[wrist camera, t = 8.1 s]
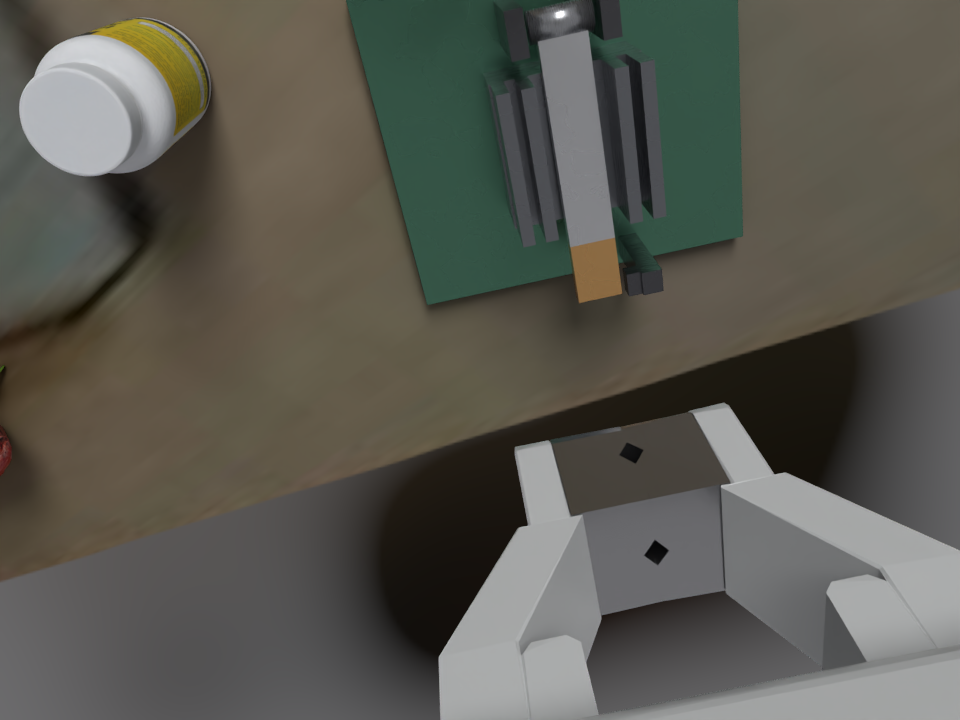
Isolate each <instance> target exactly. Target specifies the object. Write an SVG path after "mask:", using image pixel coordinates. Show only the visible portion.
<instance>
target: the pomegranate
mask: <svg viewBox="0 0 960 720" xmlns="http://www.w3.org/2000/svg"><path fill="white" fill-rule="evenodd" d="M3 368H4V365H3V366H2V367H0V372H1V371H2V369H3ZM11 457H12V447H11V445H10V442H9V439H8V438H7V436H6V433H5V431H4V429H3V427H2V426H1V425H0V476H1V475H2V474H3V473H4V470H5V469H6V468H7V466H8V465H9V463H10V461H11Z"/></svg>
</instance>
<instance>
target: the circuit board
mask: <svg viewBox="0 0 960 720" xmlns="http://www.w3.org/2000/svg"><path fill="white" fill-rule="evenodd" d="M566 1H570V0H346V2H347V6H348V10H349V13H350V17H351V21H352V25H353V28H354V32H355V36H356V39H357V43H358V47H359V51H360V54H361V58H362V62H363V66H364V69H365V73H366V77H367V81H368V84H369V88H370V92H371V96H372V99H373V103H374V107H375V111H376V114H377V118H378V122H379V126H380V129H381V133H382V137H383V141H384V144H385V148H386V152H387V156H388V159H389V163H390V167H391V171H392V174H393V178H394V182H395V186H396V189H397V193H398V197H399V201H400V204H401V208H402V212H403V216H404V219H405V223H406V227H407V231H408V234H409V238H410V242H411V246H412V249H413V253H414V257H415V261H416V264H417V268H418V272H419V276H420V279H421V283H422V287H423V291H424V294H425V298H426V302H427V305H430V304H434V303H439V302H443V301H448V300H453V299H457V298H462V297H466V296H471V295H476V294H480V293H485V292H489V291H494V290H499V289H503V288H508V287H512V286H517V285H522V284H526V283H531V282H535V281H540V280H545V279H549V278H554V277H558V276H563V275H567V274H572V266H571V260H570V254H569V247H568V241H567V235H566V229H565V222H564V216H563V210H562V204H561V197H560V191H559V185H558V179H557V172H556V166H555V160H554V154H553V147H552V141H551V135H550V129H549V122H548V116H547V110H546V104H545V97H544V91H543V85H542V78H541V72H540V66H539V60H538V53H537V47H536V45H532V46H530V44H529V41H528V37H527V32H526V27H525V19H524V11H527V10H531V9H536V8H540V7H544V6H549V5H553V4H557V3H562V2H566ZM592 3H593V8H594V14H595V31H593V32H588V33H589V41H590V48H591V56H592V64H593V72H594V79H595V87H596V95H597V103H598V110H599V118H600V126H601V134H602V141H603V149H604V157H605V164H606V172H607V180H608V188H609V195H610V203H611V211H612V219H613V226H614V234H615V242H616V250H617V257H618V263H623V262H624V264H625V265H626V267H627V268H623V275H624V284H625V290H626V292H627V294H628V295H629V296H633V295H638V294H642V293H643V295H647V294H651V293H656V292H661V291H664V290H663V278H662V269H661V267H660V266H659V265H658V263H657V262H656V260H655V259H654V258H653V256H655V255H659V254H664V253H669V252H673V251H678V250H682V249H687V248H692V247H696V246H701V245H705V244H710V243H714V242H719V241H724V240H728V239H733V238H737V237H742V236H743V219H742V174H741V128H740V83H739V38H738V0H592Z"/></svg>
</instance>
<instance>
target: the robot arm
mask: <svg viewBox="0 0 960 720" xmlns="http://www.w3.org/2000/svg"><path fill="white" fill-rule="evenodd" d="M515 457H516V462H517V468H518V473H519V479H520V484H521V489H522V494H523V500H524V505H525V510H526V515H527V521H528V526H525V527H520V528H518V529H517V531H516V533H515V534H514V536H513V537H512V539H511V541H510V542H509V544H508V546H507V547H506V549H505V550H504V552H503V553H502V555H501V557H500V558H499V560H498V562H497V563H496V565H495V566H494V568H493V570H492V571H491V573H490V575H489V576H488V578H487V580H486V581H485V583H484V584H483V586H482V588H481V589H480V591H479V593H478V594H477V596H476V597H475V599H474V601H473V602H472V604H471V606H470V607H469V609H468V611H467V612H466V614H465V615H464V617H463V619H462V620H461V622H460V624H459V625H458V627H457V629H456V630H455V632H454V633H453V635H452V637H451V638H450V640H449V641H448V643H447V645H446V646H445V648H444V650H443V651H442V653H441V654H440V656H439V681H440V683H439V684H440V719H441V720H960V551H959V550H957V549H955V548H952V547H950V546H948V545H946V544H943V543H941V542H939V541H937V540H935V539H932V538H930V537H928V536H926V535H923V534H921V533H919V532H917V531H914V530H912V529H910V528H908V527H906V526H903V525H901V524H899V523H897V522H895V521H892V520H890V519H888V518H886V517H883V516H881V515H879V514H877V513H874V512H872V511H870V510H868V509H865V508H863V507H861V506H859V505H857V504H854V503H852V502H850V501H848V500H845V499H843V498H841V497H838V496H837V495H834V494H832V493H830V492H827V491H825V490H823V489H821V488H819V487H816V486H814V485H812V484H810V483H808V482H805V481H803V480H801V479H799V478H796V477H794V476H792V475H790V474H788V473H781V474H776V475H774V473H773V471H772V470H771V468H770V467H769V465H768V464H767V462H766V461H765V460H764V458H763V456H762V455H761V453H760V452H759V450H758V449H757V447H756V446H755V444H754V443H753V442H752V440H751V438H750V437H749V435H748V434H747V432H746V431H745V429H744V428H743V426H742V425H741V423H740V422H739V420H738V419H737V417H736V416H735V414H734V413H733V411H732V410H731V408H730V406H728V405H726V404H725V403H721V404H717V405H713V406H708V407H704V408H700V409H696V410H692V411H689V412H688V413H684V414H679V415H674V416H670V417H665V418H661V419H656V420H651V421H647V422H643V423H637V424H633V425H628V426H624V427H616V428H611V429H605V430H600V431H595V432H590V433H584V434H579V435H573V436H569V437H563V438H558V439H552V440H551V443H550V442H549V441H544V442H538V443H533V444H528V445H523V446H519V447H515ZM724 590H726V594H728V595H729V596H730V597H731V598H733V599H734V600H735V601H737V602H738V603H739V604H741V605H742V606H743V607H745V608H746V609H747V610H748V611H750V612H751V613H752V614H754V615H755V616H756V617H758V618H759V619H760V620H762V621H763V622H764V623H765V624H767V625H768V626H769V627H771V628H772V629H773V630H774V631H776V632H777V633H778V634H780V635H781V636H782V637H784V638H785V639H787V640H788V641H789V642H790V643H791V644H793V645H794V646H795V647H797V648H798V649H799V650H801V651H802V652H803V653H805V654H806V655H807V656H808V657H810V658H811V659H812V660H814V661H815V662H816V663H818V664H819V665H820V666H822V671H819V672H813V673H808V674H803V675H798V676H793V677H788V678H783V679H778V680H773V681H768V682H763V683H758V684H752V685H748V686H742V687H737V688H732V689H727V690H722V691H717V692H712V693H707V694H702V695H697V696H692V697H687V698H681V699H677V700H672V701H666V702H661V703H656V704H651V705H647V706H641V707H636V708H631V709H626V710H621V711H616V712H611V713H605V714H601V715H599V714H598V710H597V706H596V702H595V698H594V694H593V689H592V686H591V681H590V677H589V673H588V669H587V665H586V661H587V658H588V655H589V652H590V650H591V647H592V644H593V641H594V638H595V636H596V633H597V630H598V627H599V624H600V622H601V615H604V614H609V613H613V612H617V611H622V610H626V609H630V608H635V607H639V606H644V605H648V604H652V603H657V602H661V601H667V600H672V599H678V598H684V597H690V596H696V595H701V594H707V593H713V592H719V591H724Z"/></svg>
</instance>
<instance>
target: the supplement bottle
mask: <svg viewBox="0 0 960 720" xmlns="http://www.w3.org/2000/svg"><path fill="white" fill-rule="evenodd" d="M210 96H211V79H210V74H209V70H208V67H207V64H206V62H205V60H204V58H203V56H202V54H201V53H200V51H199V50H198V48H197V47H196V46H195V44H194V43H193V42H192V41H191V40H190V39H189V38H188V37H187V36H186V35H185V34H183V33H182V32H181V31H179V30H178V29H176V28H174V27H173V26H171V25H169V24H167V23H165V22H162V21H159V20H156V19H151V18H131V19H126V20H122V21H119V22H116V23H113V24H110V25H107V26H105V27H101V28H99V29H96V30H93V31H91V32H88V33H85V34H81V35H78V36H75V37H72V38H70V39H68V40H66V41H64V42H62V43H60V44H58V45H56V46H55V47H54V48H52V49H51V50H50V51H49V52H48V53H47V54H46V55H45V56H44V58H43V59H42V60H41V62H40V64H39V66H38V67H37V70H36V73H35V76H34V78H33V79H31V80H30V82H29V83H28V84H27V85H26V87H25V89H24V91H23V93H22V95H21V99H20V105H19V113H20V120H21V125H22V127H23V130H24V133H25V135H26V137H27V139H28V140H29V142H30V143H31V145H32V146H33V147H34V149H35V150H36V151H37V152H38V153H39V154H40V155H41V156H42V157H43V158H44V159H45V160H47V161H48V162H49V163H51V164H52V165H54V166H55V167H57V168H59V169H61V170H63V171H65V172H68V173H71V174H75V175H81V176H98V175H103V174H106V173H128V172H133V171H136V170H139V169H142V168H144V167H146V166H148V165H150V164H151V163H153V162H154V161H155V160H157V159H158V158H159V157H161V156H162V155H163V154H164V153H165V152H166V151H167V150H168V149H169V148H170V147H171V146H173V145H174V144H175V143H176V142H177V141H178V140H179V139H180V138H181V137H182V136H184V135H185V134H186V133H187V132H188V131H189V130H190V129H191V128H192V127H193V126H195V124H196V123H197V122H198V121H199V120H200V119H201V118H202V116H203V115H204V113H205V111H206V109H207V107H208V104H209V101H210Z"/></svg>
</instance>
